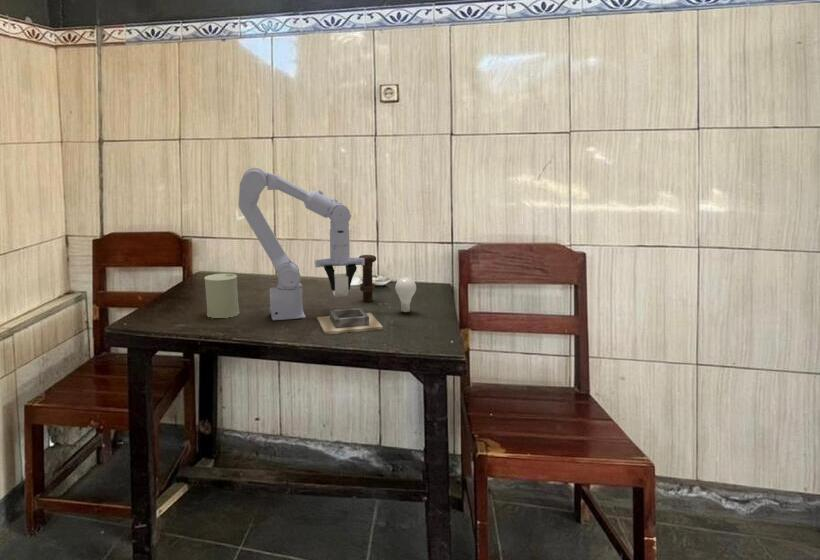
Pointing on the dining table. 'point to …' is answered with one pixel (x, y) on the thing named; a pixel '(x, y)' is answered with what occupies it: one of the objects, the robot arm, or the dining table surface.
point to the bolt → (367, 277)
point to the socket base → (348, 321)
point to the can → (221, 295)
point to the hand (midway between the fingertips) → (340, 289)
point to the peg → (340, 285)
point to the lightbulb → (405, 292)
